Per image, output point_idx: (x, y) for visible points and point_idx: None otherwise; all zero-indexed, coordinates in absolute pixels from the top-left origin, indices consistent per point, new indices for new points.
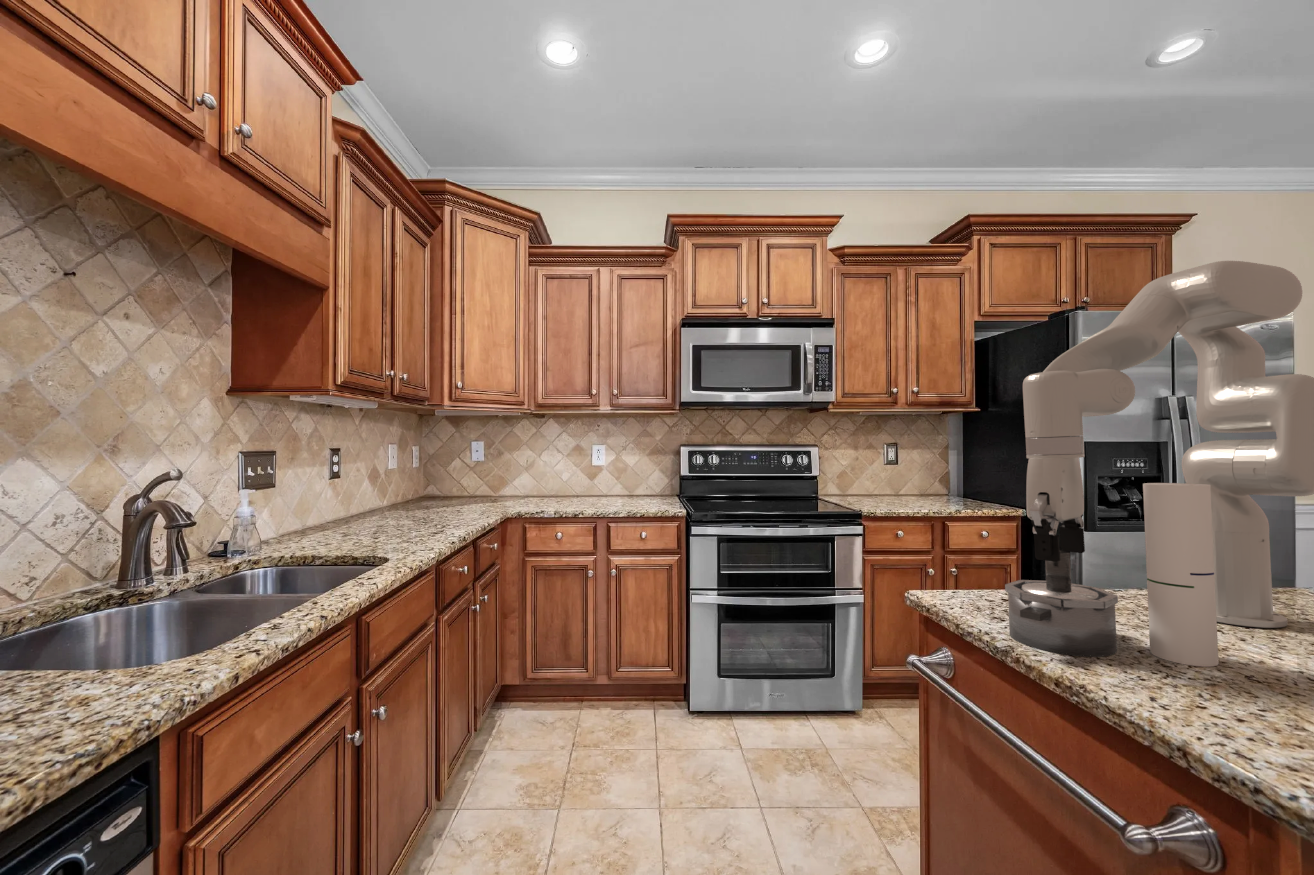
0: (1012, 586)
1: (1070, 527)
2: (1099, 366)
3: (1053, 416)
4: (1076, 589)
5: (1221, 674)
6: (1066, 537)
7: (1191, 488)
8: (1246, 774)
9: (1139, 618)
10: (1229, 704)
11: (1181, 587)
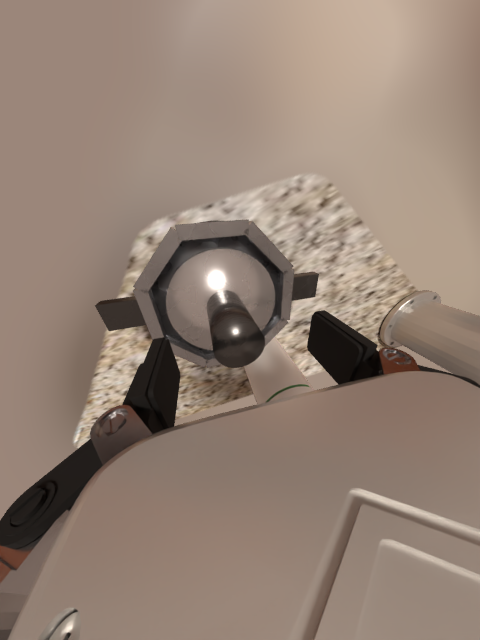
0: (170, 247)
1: (357, 374)
2: None
3: None
4: (252, 317)
5: (238, 373)
6: (334, 343)
7: None
8: (73, 440)
9: (366, 282)
10: (178, 398)
11: None
